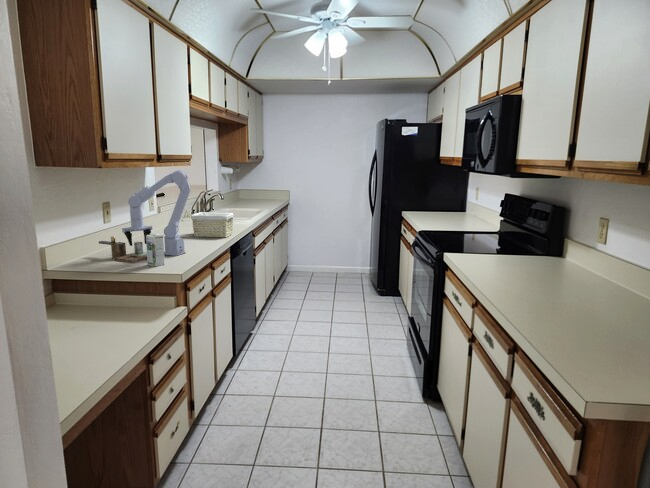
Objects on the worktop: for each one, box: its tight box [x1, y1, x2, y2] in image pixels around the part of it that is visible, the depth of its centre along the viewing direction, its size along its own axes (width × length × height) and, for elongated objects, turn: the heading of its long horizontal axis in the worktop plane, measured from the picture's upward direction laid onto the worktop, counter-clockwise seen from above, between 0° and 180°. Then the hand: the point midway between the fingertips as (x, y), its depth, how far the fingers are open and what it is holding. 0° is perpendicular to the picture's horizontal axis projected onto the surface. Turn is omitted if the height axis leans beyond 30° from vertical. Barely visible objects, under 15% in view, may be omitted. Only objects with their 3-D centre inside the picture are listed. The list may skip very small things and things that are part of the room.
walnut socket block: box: [110, 241, 147, 264], centre depth 208 cm, size 16×10×8 cm, turn 70°
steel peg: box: [133, 241, 144, 255], centre depth 218 cm, size 4×4×6 cm
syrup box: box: [145, 233, 165, 267], centre depth 198 cm, size 6×6×14 cm
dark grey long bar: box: [98, 235, 125, 246], centre depth 211 cm, size 14×2×4 cm, turn 69°
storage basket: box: [190, 211, 235, 238], centre depth 275 cm, size 24×16×15 cm
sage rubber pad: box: [126, 251, 147, 256], centre depth 219 cm, size 9×8×1 cm
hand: (138, 244), depth 218 cm, fingers open, 7 cm apart
